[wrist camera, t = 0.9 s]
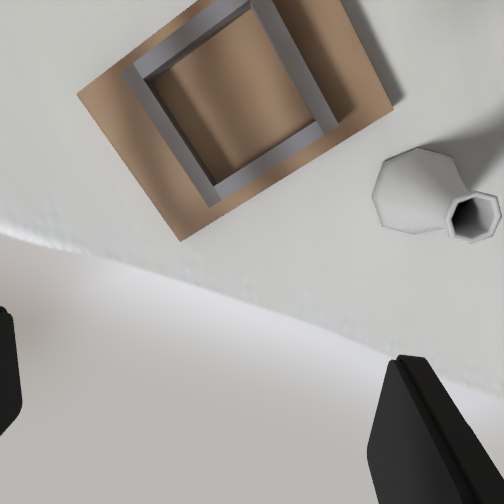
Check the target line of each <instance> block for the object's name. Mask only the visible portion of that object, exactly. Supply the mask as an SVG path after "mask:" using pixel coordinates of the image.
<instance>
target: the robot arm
mask: <svg viewBox="0 0 504 504" xmlns="http://www.w3.org/2000/svg"><path fill="white" fill-rule="evenodd" d="M21 408H22V394H21V385H20V376H19V368H18V358H17V350H16V341H15V333H14V323H13V317H12V316H11V314H9V313H7V311H6V309H5V308H4V307H2V306H0V436H1V435H2V433H3V432H4V431H5V430H6V429H7V428H8V427H9V426H10V425H11V423H12V422H13V421H14V420H15V419H16V418H17V416H18V415H19V413H20V410H21ZM367 460H368V465H369V468H370V472H371V476H372V480H373V484H374V487H375V491H376V495H377V498H378V502H379V504H504V479H503V477H502V476H501V474H500V473H499V471H498V470H497V468H496V467H495V465H494V463H493V462H492V460H491V459H490V457H489V455H488V454H487V452H486V451H485V449H484V448H483V446H482V445H481V443H480V441H479V440H478V439H477V437H476V435H475V434H474V432H473V430H472V429H471V427H470V426H469V425H468V424H467V423H466V421H465V419H464V418H463V416H462V415H461V413H460V412H459V410H458V408H457V407H456V405H455V404H454V402H453V401H452V399H451V397H450V396H449V394H448V393H447V391H446V390H445V388H444V386H443V385H442V383H441V382H440V380H439V378H438V377H437V375H436V374H435V372H434V371H433V369H432V367H431V366H430V364H429V363H428V361H427V360H426V359H425V358H423V357H416V356H408V355H399V356H398V357H397V358H396V360H390V361H389V364H388V366H387V371H386V375H385V378H384V382H383V386H382V390H381V394H380V398H379V403H378V406H377V410H376V414H375V418H374V422H373V426H372V430H371V434H370V438H369V442H368V446H367Z"/></svg>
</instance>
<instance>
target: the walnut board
mask: <svg viewBox="0 0 504 504" xmlns="http://www.w3.org/2000/svg"><path fill="white" fill-rule="evenodd" d="M76 95H77V96H78V97H79V99H80V100H81V102H82V103H83V105H84V106H85V107H86V109H87V110H88V112H89V113H90V115H91V116H92V117H93V119H94V120H95V122H96V123H97V125H98V126H99V127H100V129H101V130H102V132H103V133H104V134H105V136H106V137H107V139H108V140H109V142H110V143H111V144H112V146H113V147H114V149H115V150H116V152H117V153H118V154H119V156H120V157H121V159H122V160H123V161H124V163H125V164H126V166H127V167H128V169H129V170H130V171H131V173H132V174H133V176H134V177H135V179H136V180H137V181H138V183H139V184H140V186H141V187H142V188H143V190H144V191H145V193H146V194H147V196H148V197H149V198H150V200H151V201H152V203H153V204H154V206H155V207H156V208H157V210H158V211H159V213H160V214H161V215H162V217H163V218H164V220H165V221H166V223H167V224H168V225H169V227H170V228H171V230H172V231H173V233H174V234H175V235H176V237H177V238H178V240H179V241H180V242H181V241H183V240H184V239H186V238H188V237H189V236H191V235H192V234H194V233H196V232H197V231H199V230H200V229H202V228H204V227H205V226H207V225H209V224H210V223H212V222H213V221H215V220H217V219H218V218H220V217H221V216H223V215H225V214H226V213H228V212H229V211H231V210H233V209H234V208H236V207H238V206H239V205H241V204H242V203H244V202H246V201H247V200H249V199H250V198H252V197H254V196H255V195H257V194H259V193H260V192H262V191H263V190H265V189H267V188H268V187H270V186H271V185H273V184H275V183H276V182H278V181H279V180H281V179H283V178H284V177H286V176H288V175H289V174H291V173H292V172H294V171H296V170H297V169H299V168H300V167H302V166H304V165H305V164H307V163H309V162H310V161H312V160H313V159H315V158H317V157H318V156H320V155H321V154H323V153H325V152H326V151H328V150H329V149H331V148H333V147H334V146H336V145H338V144H339V143H341V142H342V141H344V140H346V139H347V138H349V137H350V136H352V135H354V134H355V133H357V132H359V131H360V130H362V129H363V128H365V127H367V126H368V125H370V124H371V123H373V122H375V121H376V120H378V119H379V118H381V117H383V116H384V115H386V114H388V113H389V112H391V111H392V110H394V109H393V107H392V104H391V102H390V100H389V98H388V96H387V94H386V92H385V90H384V88H383V86H382V84H381V82H380V80H379V78H378V76H377V74H376V72H375V70H374V68H373V66H372V64H371V62H370V60H369V58H368V56H367V54H366V52H365V50H364V48H363V46H362V44H361V42H360V40H359V38H358V36H357V34H356V32H355V30H354V28H353V26H352V24H351V22H350V20H349V18H348V16H347V14H346V12H345V10H344V8H343V6H342V4H341V2H340V0H198V1H196V2H195V3H194V4H192V5H191V6H190V7H189V8H187V9H186V10H185V11H183V12H182V13H181V14H179V15H178V16H177V17H176V18H174V19H173V20H172V21H170V22H169V23H168V24H166V25H165V26H164V27H163V28H161V29H160V30H159V31H157V32H156V33H155V34H154V35H152V36H151V37H150V38H148V39H147V40H146V41H144V42H143V43H142V44H141V45H139V46H138V47H137V48H135V49H134V50H133V51H131V52H130V53H129V54H128V55H126V56H125V57H124V58H122V59H121V60H120V61H118V62H117V63H116V64H115V65H113V66H112V67H111V68H109V69H108V70H107V71H105V72H104V73H103V74H102V75H100V76H99V77H98V78H96V79H95V80H94V81H92V82H91V83H90V84H89V85H87V86H86V87H85V88H83V89H82V90H81V91H79V92H78V93H77V94H76Z"/></svg>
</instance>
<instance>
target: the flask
mask: <svg viewBox="0 0 504 504" xmlns="http://www.w3.org/2000/svg"><path fill="white" fill-rule="evenodd" d="M372 199H373V202H374V205H375V208H376V210H377V213H378V216H379V219H380V222H381V225H382V227H386V228H390V229H394V230H398V231H402V232H406V233H410V234H419V233H423V232H427V231H433V230H440V229H445V230H447V232H448V235H449V237H450V238H451V239H454V240H458V241H462V242H466V243H470V244H473V243H475V242H478V241H481V240H484V239H486V238H489V237H492V236H493V235H494V232H495V230H496V228H497V226H498V224H499V221H500V219H501V217H502V214H501V210H500V206H499V202H498V198H497V196H494V195H490V194H486V193H482V192H478V191H470V190H469V189H468V188H467V187H466V186H465V184H464V182H463V180H462V178H461V176H460V175H459V173H458V170H457V168H456V165H455V163H454V160H453V158H452V156H448V155H444V154H440V153H436V152H432V151H428V150H424V149H420V148H416V149H414V150H411V151H409V152H406V153H404V154H402V155H399V156H397V157H394V158H392V159H389V160H387V161H385V162H383V164H382V167H381V170H380V172H379V175H378V178H377V181H376V184H375V187H374V190H373V193H372Z"/></svg>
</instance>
